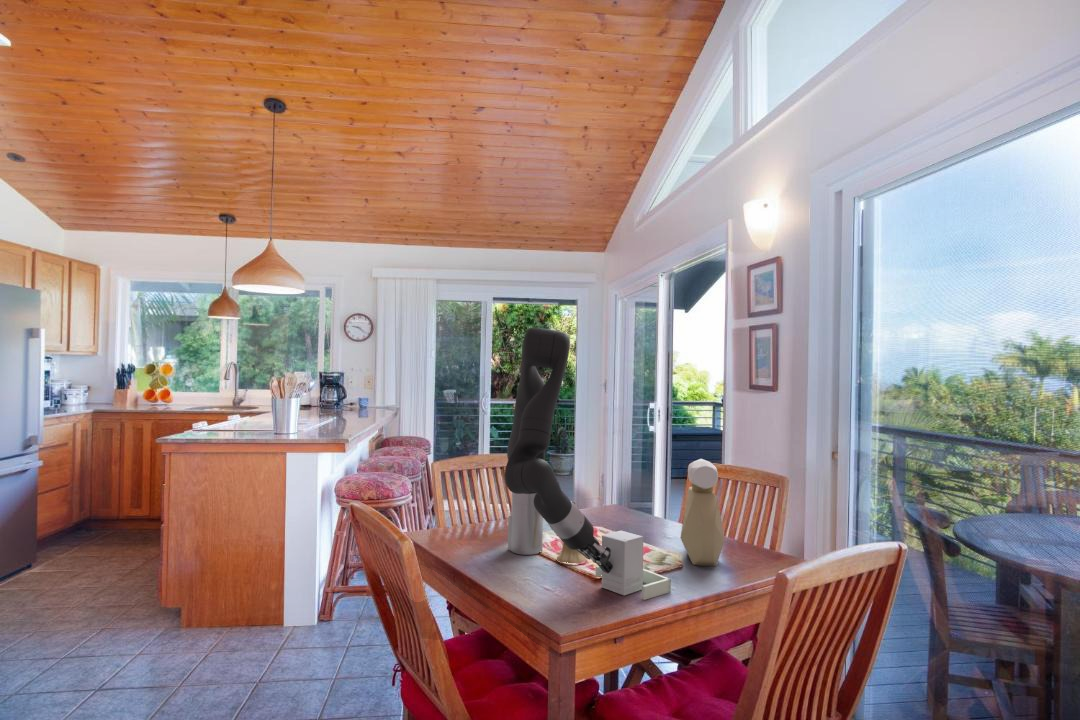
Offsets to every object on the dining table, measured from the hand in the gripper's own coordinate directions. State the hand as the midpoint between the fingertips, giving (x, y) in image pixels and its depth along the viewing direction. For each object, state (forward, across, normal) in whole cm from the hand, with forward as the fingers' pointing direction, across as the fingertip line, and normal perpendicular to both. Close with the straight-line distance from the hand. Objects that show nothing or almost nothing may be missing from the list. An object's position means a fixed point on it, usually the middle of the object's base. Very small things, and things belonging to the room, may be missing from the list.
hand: (608, 569), depth 137 cm
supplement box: (+7, 0, +1) cm, 7 cm away
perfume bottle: (+31, +4, -24) cm, 39 cm away
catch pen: (+9, 0, -2) cm, 10 cm away
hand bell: (+9, +23, -1) cm, 24 cm away
